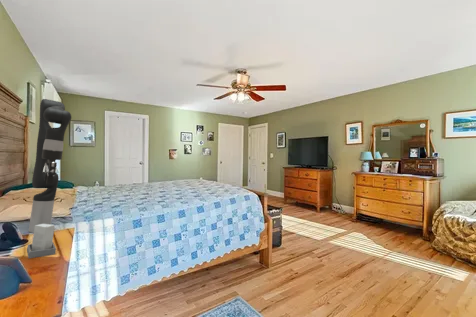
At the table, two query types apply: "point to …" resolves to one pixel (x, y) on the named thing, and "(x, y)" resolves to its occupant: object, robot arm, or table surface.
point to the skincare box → (42, 237)
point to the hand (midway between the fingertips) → (48, 182)
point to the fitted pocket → (40, 251)
